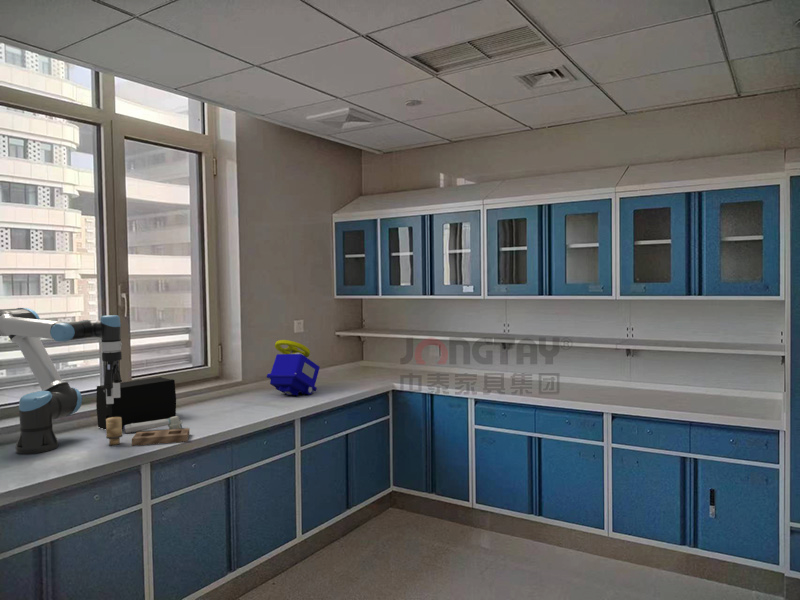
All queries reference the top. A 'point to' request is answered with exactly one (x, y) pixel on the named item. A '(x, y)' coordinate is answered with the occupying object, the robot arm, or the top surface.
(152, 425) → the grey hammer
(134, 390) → the uninterruptible power supply
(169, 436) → the walnut board
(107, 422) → the oak peg
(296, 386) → the control box
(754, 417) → the top surface
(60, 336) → the robot arm
